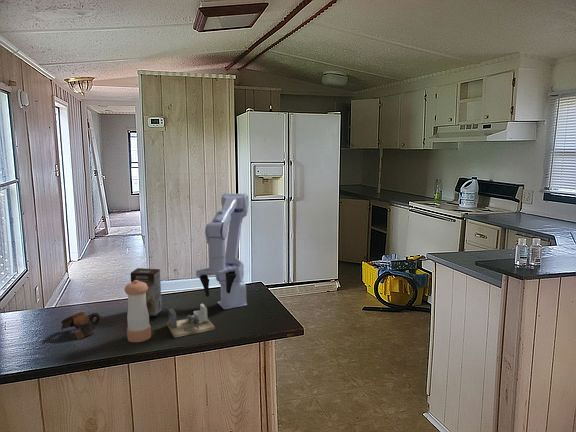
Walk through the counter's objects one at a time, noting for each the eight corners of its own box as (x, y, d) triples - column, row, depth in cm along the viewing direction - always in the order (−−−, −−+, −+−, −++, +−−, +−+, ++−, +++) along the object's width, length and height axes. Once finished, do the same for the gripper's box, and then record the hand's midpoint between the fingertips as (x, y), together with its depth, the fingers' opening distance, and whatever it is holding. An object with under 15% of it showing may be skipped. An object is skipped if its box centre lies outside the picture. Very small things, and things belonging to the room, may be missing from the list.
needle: (196, 322, 148) (196, 317, 148) (200, 326, 144) (200, 322, 144) (193, 322, 147) (193, 318, 147) (196, 327, 144) (196, 322, 144)
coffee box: (131, 315, 159) (128, 272, 157) (139, 308, 165) (136, 267, 163) (155, 316, 158) (153, 273, 156) (162, 309, 165) (160, 268, 162)
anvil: (173, 322, 150) (172, 308, 149) (176, 327, 145) (176, 313, 145) (168, 322, 150) (168, 309, 149) (172, 328, 145) (171, 314, 144)
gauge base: (205, 318, 156) (205, 314, 156) (214, 329, 146) (214, 325, 146) (167, 325, 150) (166, 321, 150) (174, 337, 140) (174, 333, 140)
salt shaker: (128, 334, 143) (124, 277, 140) (151, 331, 145) (148, 276, 142) (126, 343, 136) (122, 284, 133) (150, 341, 138) (147, 282, 135)
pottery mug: (68, 344, 137) (58, 321, 138) (68, 346, 145) (58, 324, 146) (106, 326, 143) (96, 303, 144) (105, 329, 151) (95, 307, 152)
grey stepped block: (203, 316, 154) (202, 303, 154) (209, 323, 148) (208, 310, 148) (186, 319, 152) (185, 306, 151) (191, 326, 146) (191, 313, 145)
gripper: (199, 261, 145) (200, 300, 146) (240, 256, 151) (241, 294, 153) (194, 256, 151) (195, 294, 153) (233, 252, 157) (234, 288, 159)
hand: (217, 294), depth 153 cm, fingers open, 7 cm apart
